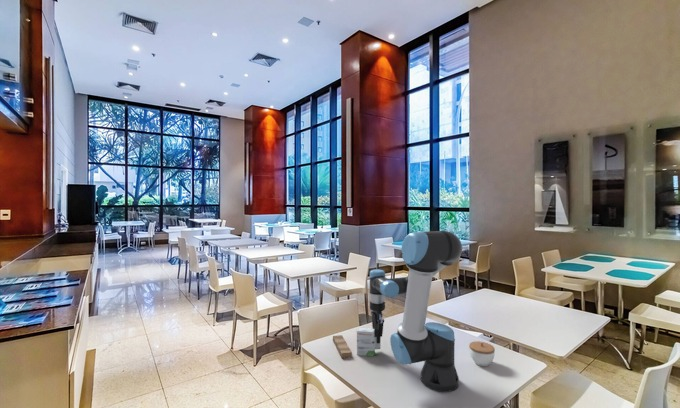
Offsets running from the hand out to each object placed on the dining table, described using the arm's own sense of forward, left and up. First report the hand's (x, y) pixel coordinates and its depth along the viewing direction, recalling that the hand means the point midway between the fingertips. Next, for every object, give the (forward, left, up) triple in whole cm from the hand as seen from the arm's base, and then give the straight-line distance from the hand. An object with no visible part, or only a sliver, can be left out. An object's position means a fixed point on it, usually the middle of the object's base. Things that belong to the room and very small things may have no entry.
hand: (377, 348), depth 159 cm
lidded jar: (-22, -43, -2) cm, 48 cm away
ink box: (-1, +6, -2) cm, 6 cm away
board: (+7, +16, -2) cm, 18 cm away
